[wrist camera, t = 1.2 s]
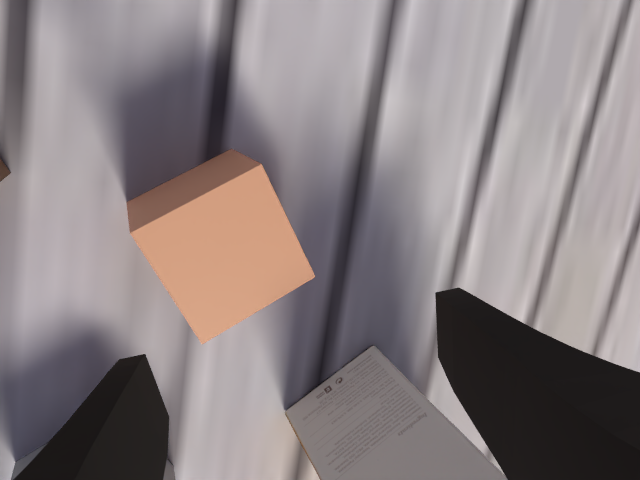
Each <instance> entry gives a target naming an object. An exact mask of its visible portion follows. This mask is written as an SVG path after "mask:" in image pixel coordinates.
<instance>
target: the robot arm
mask: <svg viewBox="0 0 640 480" xmlns="http://www.w3.org/2000/svg"><path fill="white" fill-rule="evenodd" d="M436 317H437V341H438V358H439V360H440V362H441V365H442V367H443V369H444V371H445V374H446V376H447V378H448V380H449V382H450V384H451V387H452V389H453V391H454V393H455V394H456V396H457V398H458V399H459V401H460V403H461V404H462V406H463V408H464V409H465V411H466V412H467V414H468V416H469V417H470V419H471V421H472V422H473V424H474V425H475V427H476V429H477V430H478V432H479V433H480V435H481V437H482V438H483V440H484V441H485V443H486V445H487V446H488V448H489V449H490V451H491V453H492V454H493V456H494V457H495V459H496V461H497V462H498V464H499V465H500V467H501V469H502V470H503V472H504V474H505V476H506V477H507V479H508V480H640V373H639V372H636V371H633V370H630V369H627V368H625V367H622V366H619V365H616V364H613V363H611V362H608V361H606V360H603V359H600V358H598V357H595V356H593V355H590V354H588V353H585V352H583V351H580V350H578V349H576V348H573V347H571V346H569V345H567V344H564V343H562V342H560V341H558V340H556V339H554V338H552V337H550V336H547V335H545V334H543V333H541V332H539V331H537V330H535V329H533V328H531V327H529V326H528V325H526V324H524V323H522V322H520V321H518V320H516V319H514V318H513V317H511V316H509V315H507V314H505V313H503V312H502V311H500V310H498V309H496V308H495V307H493V306H491V305H489V304H488V303H486V302H484V301H482V300H481V299H479V298H477V297H475V296H473V295H472V294H470V293H468V292H466V291H464V290H462V289H460V288H455V289H450V290H446V291H441V292H436ZM168 432H169V415H168V413H167V410H166V408H165V405H164V402H163V400H162V397H161V394H160V392H159V389H158V386H157V384H156V381H155V379H154V376H153V373H152V371H151V368H150V365H149V363H148V360H147V357H146V355H145V354H143V355H138V356H133V357H128V358H124V359H119V360H118V362H117V363H116V364H115V365H114V366H113V367H112V368H111V370H110V371H109V372H108V373H107V374H106V376H105V377H104V378H103V379H102V380H101V382H100V383H99V384H98V385H97V387H96V388H95V389H94V390H93V391H92V393H91V394H90V395H89V396H88V398H87V399H86V400H85V401H84V402H83V403H82V405H81V406H80V407H79V408H78V409H77V411H76V412H75V413H74V414H73V415H72V417H71V418H70V419H69V420H68V421H67V423H66V424H65V425H64V426H63V427H62V428H61V429H60V430H59V431H58V433H57V434H56V435H55V436H54V437H53V438H52V439H51V440H50V441H49V442H48V444H47V445H46V446H45V447H44V448H43V449H42V450H41V451H40V452H39V453H38V454H37V456H36V457H35V458H34V459H33V460H32V461H31V462H30V463H29V464H28V465H27V466H26V467H25V468H24V469H23V470H22V471H21V472H20V473H19V474H18V475H17V476H16V477H15V478H14V479H13V480H163V478H164V472H165V467H166V461H167V450H168Z"/></svg>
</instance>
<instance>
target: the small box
mask: <svg viewBox="0 0 640 480" xmlns="http://www.w3.org/2000/svg"><path fill="white" fill-rule="evenodd" d="M285 414H286V416H287V418H288V420H289V422H290V424H291V426H292V428H293V430H294V432H295V434H296V436H297V437H298V439H299V441H300V443H301V445H302V447H303V449H304V450H305V452H306V454H307V456H308V458H309V459H310V461H311V463H312V465H313V467H314V468H315V470H316V472H317V474H318V476H319V478H320V480H508V479H507V477H506V476H505V475H504V474H503V473H502V472H501V471H500V470H499V469H498V468H497V467H496V466H495V465H494V464H493V463H492V462H491V461H490V460H489V459H488V458H487V457H486V456H485V455H484V454H483V453H482V452H481V451H480V450H479V449H478V448H477V447H476V446H475V445H474V444H473V443H472V442H471V441H470V440H469V439H468V438H467V437H466V436H465V435H464V434H463V433H462V432H461V431H460V430H459V429H458V428H457V427H456V426H455V425H454V424H452V423H451V422H450V421H449V420H448V419H447V418H446V417H445V416H444V415H443V414H442V413H441V412H440V411H439V410H438V409H437V408H436V407H435V406H434V405H433V404H432V403H431V402H430V401H429V400H428V399H427V398H426V397H425V396H424V395H423V394H422V393H421V392H420V391H419V390H418V389H417V388H416V387H415V386H414V385H413V384H412V383H411V382H410V381H409V380H408V379H407V378H406V377H405V376H404V375H403V374H402V373H401V372H400V371H399V370H398V369H397V368H396V367H395V366H394V365H393V364H392V363H391V362H390V361H389V360H388V359H387V358H386V357H385V356H384V355H383V354H382V353H381V352H380V350H379V349H378V348H377V347H376V346H372V347H370V348H369V349H367V350H366V351H365V352H363V353H362V354H360V355H359V356H358V357H356V358H355V359H354V360H353V361H351V362H350V363H348V364H347V365H346V366H345V367H343V368H342V369H341V370H339V371H338V372H337V373H335V374H334V375H333V376H331V377H330V378H329V379H327V380H326V381H324V382H323V383H322V384H321V385H319V386H318V387H317V388H315V389H314V390H313V391H311V392H310V393H309V394H307V395H306V396H305V397H304V398H302V399H301V400H300V401H298V402H297V403H296V404H294V405H293V406H292V407H290V408H289V409H288V410H287V411H286V412H285Z"/></svg>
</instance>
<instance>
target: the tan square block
mask: <svg viewBox="0 0 640 480" xmlns="http://www.w3.org/2000/svg"><path fill="white" fill-rule="evenodd" d="M9 174H10V171H9V170H8V168H7V167H6V166H5V164H4V163H3V161H2V160H1V159H0V181H2V180H3V179H4V178H5V177H7V176H8V175H9Z"/></svg>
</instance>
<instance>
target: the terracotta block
mask: <svg viewBox="0 0 640 480" xmlns="http://www.w3.org/2000/svg"><path fill="white" fill-rule="evenodd" d="M127 210H128V219H129V228H130V234H131V235H132V237H133V239H134V240H135V242H136V243H137V245H138V246H139V248H140V249H141V251H142V252H143V254H144V255H145V257H146V259H147V260H148V262H149V263H150V265H151V266H152V268H153V269H154V271H155V272H156V274H157V276H158V277H159V279H160V280H161V282H162V283H163V285H164V286H165V288H166V289H167V291H168V292H169V294H170V296H171V297H172V299H173V300H174V302H175V303H176V305H177V306H178V308H179V309H180V311H181V313H182V314H183V316H184V317H185V319H186V320H187V322H188V323H189V325H190V326H191V328H192V330H193V331H194V333H195V334H196V336H197V337H198V339H199V340H200V342H201V343H202V344H204V343H205V342H207V341H209V340H210V339H212V338H214V337H215V336H217V335H219V334H220V333H222V332H224V331H225V330H227V329H229V328H230V327H232V326H234V325H235V324H237V323H239V322H241V321H242V320H244V319H246V318H247V317H249V316H251V315H252V314H254V313H256V312H257V311H259V310H261V309H262V308H264V307H266V306H267V305H269V304H271V303H272V302H274V301H276V300H277V299H279V298H281V297H283V296H284V295H286V294H288V293H289V292H291V291H293V290H294V289H296V288H298V287H299V286H301V285H303V284H304V283H306V282H308V281H309V280H311V279H313V278H314V277H315V275H314V273H313V271H312V268H311V266H310V264H309V262H308V260H307V258H306V256H305V254H304V252H303V250H302V248H301V245H300V243H299V241H298V239H297V237H296V235H295V233H294V231H293V229H292V227H291V224H290V222H289V220H288V218H287V216H286V214H285V212H284V210H283V208H282V206H281V204H280V201H279V199H278V197H277V195H276V193H275V191H274V189H273V187H272V185H271V183H270V181H269V178H268V176H267V174H266V172H265V170H264V168H263V166H262V164H261V163H259V162H257V161H255V160H253V159H251V158H249V157H247V156H245V155H243V154H241V153H239V152H237V151H235V150H233V149H230V150H228V151H226V152H224V153H222V154H220V155H218V156H216V157H214V158H212V159H210V160H208V161H206V162H205V163H203V164H201V165H199V166H197V167H195V168H193V169H191V170H189V171H187V172H185V173H183V174H181V175H179V176H177V177H175V178H173V179H171V180H169V181H167V182H165V183H163V184H161V185H159V186H157V187H155V188H154V189H152V190H150V191H148V192H146V193H144V194H142V195H140V196H138V197H136V198H134V199H132V200H130V201H128V202H127Z"/></svg>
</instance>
